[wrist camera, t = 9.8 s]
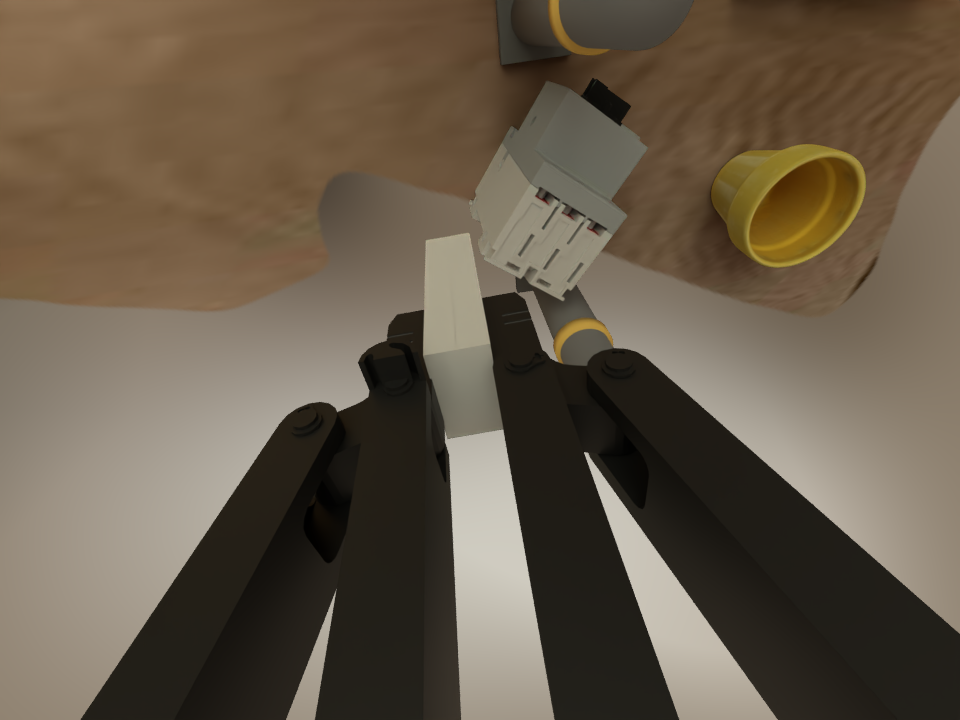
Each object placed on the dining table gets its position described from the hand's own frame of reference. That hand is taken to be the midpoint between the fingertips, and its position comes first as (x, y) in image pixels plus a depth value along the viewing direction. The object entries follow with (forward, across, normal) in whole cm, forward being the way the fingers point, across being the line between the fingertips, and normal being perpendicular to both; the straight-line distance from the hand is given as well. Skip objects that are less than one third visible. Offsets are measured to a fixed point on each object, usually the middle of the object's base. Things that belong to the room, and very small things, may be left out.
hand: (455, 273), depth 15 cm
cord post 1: (+32, +9, +6) cm, 33 cm away
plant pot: (+32, +30, -11) cm, 45 cm away
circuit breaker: (+32, +9, -4) cm, 33 cm away
